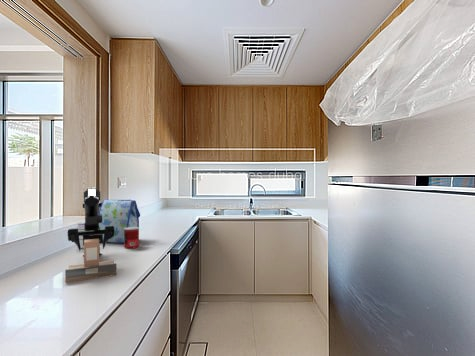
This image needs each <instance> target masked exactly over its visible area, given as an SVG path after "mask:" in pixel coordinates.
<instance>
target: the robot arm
mask: <svg viewBox="0 0 475 356" xmlns="http://www.w3.org/2000/svg"><path fill="white" fill-rule="evenodd" d="M101 206H102V201H101V191H100V190H98V187H87V188H86V190H85V191H84V192H83V201H82V209H84V222H85V224H84V229H85V231H78V227H76V228H68V230H67V241H69V242H72V243H74V244H75V245H76V247H77V249H78V251H79V252H81V248H80V241H79V236H83V245H84V240H89V239H99V240H100V241H99V256H101V255H103V253H101V247H100V244H102V249H105V247H106V245H107V243H108V242H107V241H108V240H109V239H111V237H114V231H115V229H114V226H105V230H100V227H99V223H102V215H99V210H100V207H101ZM103 234H104V240H103ZM82 257H84V254H83V255H82Z"/></svg>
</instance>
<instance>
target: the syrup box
mask: <svg viewBox="0 0 475 356" xmlns="http://www.w3.org/2000/svg"><path fill="white" fill-rule="evenodd" d="M76 224H77V228H78V231H85V229H84V224H85V221H81V222H77V223H76ZM79 241H80V249H84V245H83V236H79Z"/></svg>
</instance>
